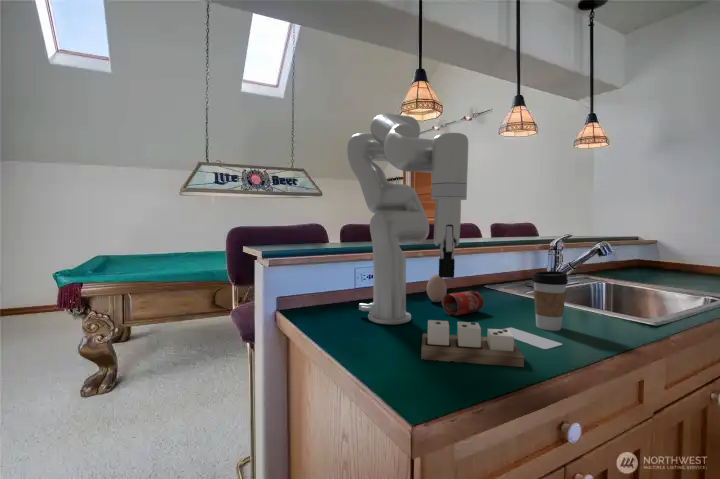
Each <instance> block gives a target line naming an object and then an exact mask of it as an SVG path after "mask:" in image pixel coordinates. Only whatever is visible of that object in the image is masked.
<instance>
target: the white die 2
mask: <svg viewBox="0 0 720 479" xmlns="http://www.w3.org/2000/svg"><path fill="white" fill-rule="evenodd" d="M456 326H457V327H456V328H457V329H456V330H457V331H456V335H457V341H458V346H465V347H480V348H481V337H482V328H481V326H480V324H479V322H475V321H474V322H470V321H469V322H468V321H457V323H456Z"/></svg>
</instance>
